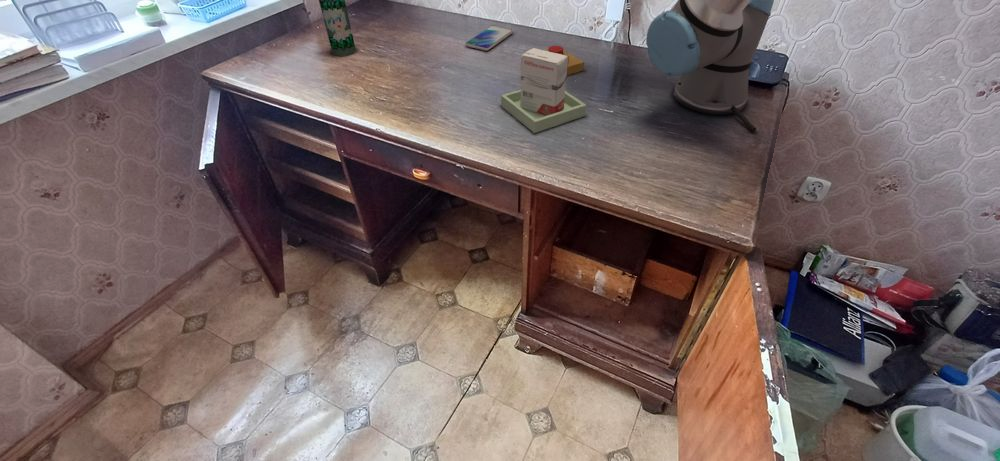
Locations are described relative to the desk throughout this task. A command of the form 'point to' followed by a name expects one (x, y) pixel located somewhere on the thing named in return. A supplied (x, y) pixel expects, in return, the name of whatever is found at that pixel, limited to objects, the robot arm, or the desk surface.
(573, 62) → the power switch
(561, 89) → the ink box
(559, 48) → the power button
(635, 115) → the desk surface
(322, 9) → the can
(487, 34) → the smartphone
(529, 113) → the tray
